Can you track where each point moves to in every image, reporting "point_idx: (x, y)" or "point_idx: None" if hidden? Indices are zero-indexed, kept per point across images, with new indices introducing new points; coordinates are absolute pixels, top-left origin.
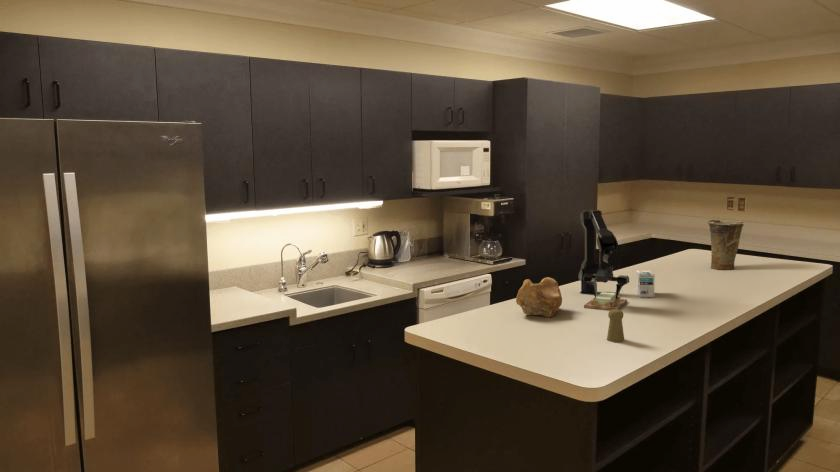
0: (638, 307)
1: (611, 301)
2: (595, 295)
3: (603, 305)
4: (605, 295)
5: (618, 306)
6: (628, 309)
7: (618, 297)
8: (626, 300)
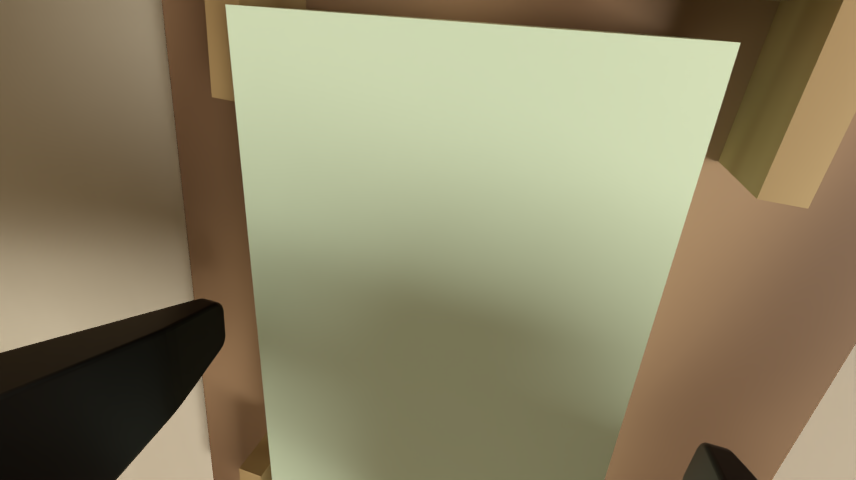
0: (41, 225)
1: None
2: (716, 467)
3: (476, 18)
4: (433, 433)
5: (172, 19)
6: (87, 64)
7: (250, 459)
8: (216, 462)
